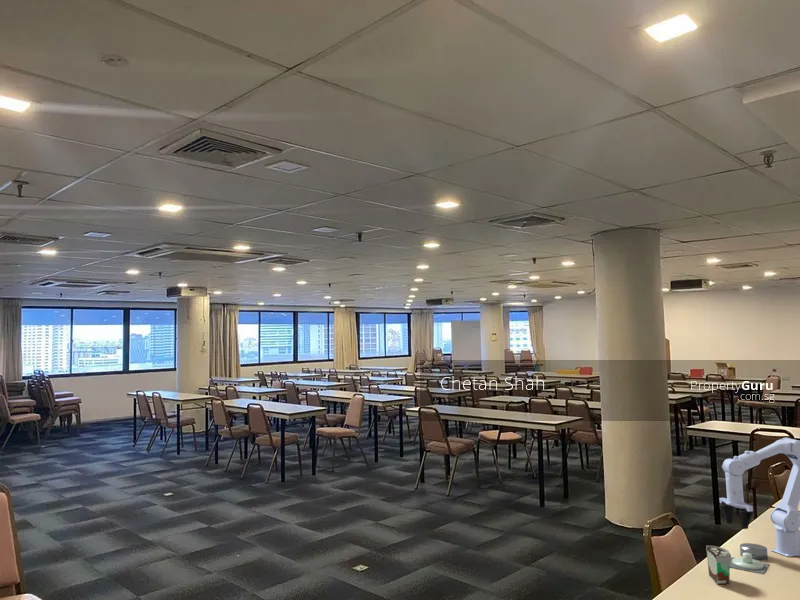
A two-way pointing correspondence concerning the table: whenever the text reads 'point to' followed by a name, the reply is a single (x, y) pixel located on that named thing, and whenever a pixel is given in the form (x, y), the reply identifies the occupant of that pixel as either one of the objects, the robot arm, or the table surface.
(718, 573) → the food container
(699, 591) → the table surface
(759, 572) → the mat
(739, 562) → the lid
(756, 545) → the tin
